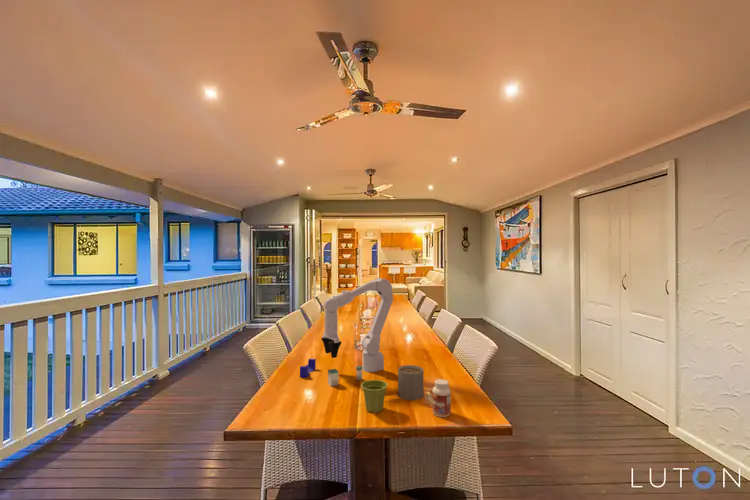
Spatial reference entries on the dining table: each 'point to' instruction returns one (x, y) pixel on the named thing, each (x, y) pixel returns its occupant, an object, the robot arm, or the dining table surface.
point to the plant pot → (374, 394)
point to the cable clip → (308, 368)
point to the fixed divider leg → (359, 372)
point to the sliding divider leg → (333, 377)
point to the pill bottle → (441, 398)
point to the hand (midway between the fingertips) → (331, 355)
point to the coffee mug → (410, 382)
